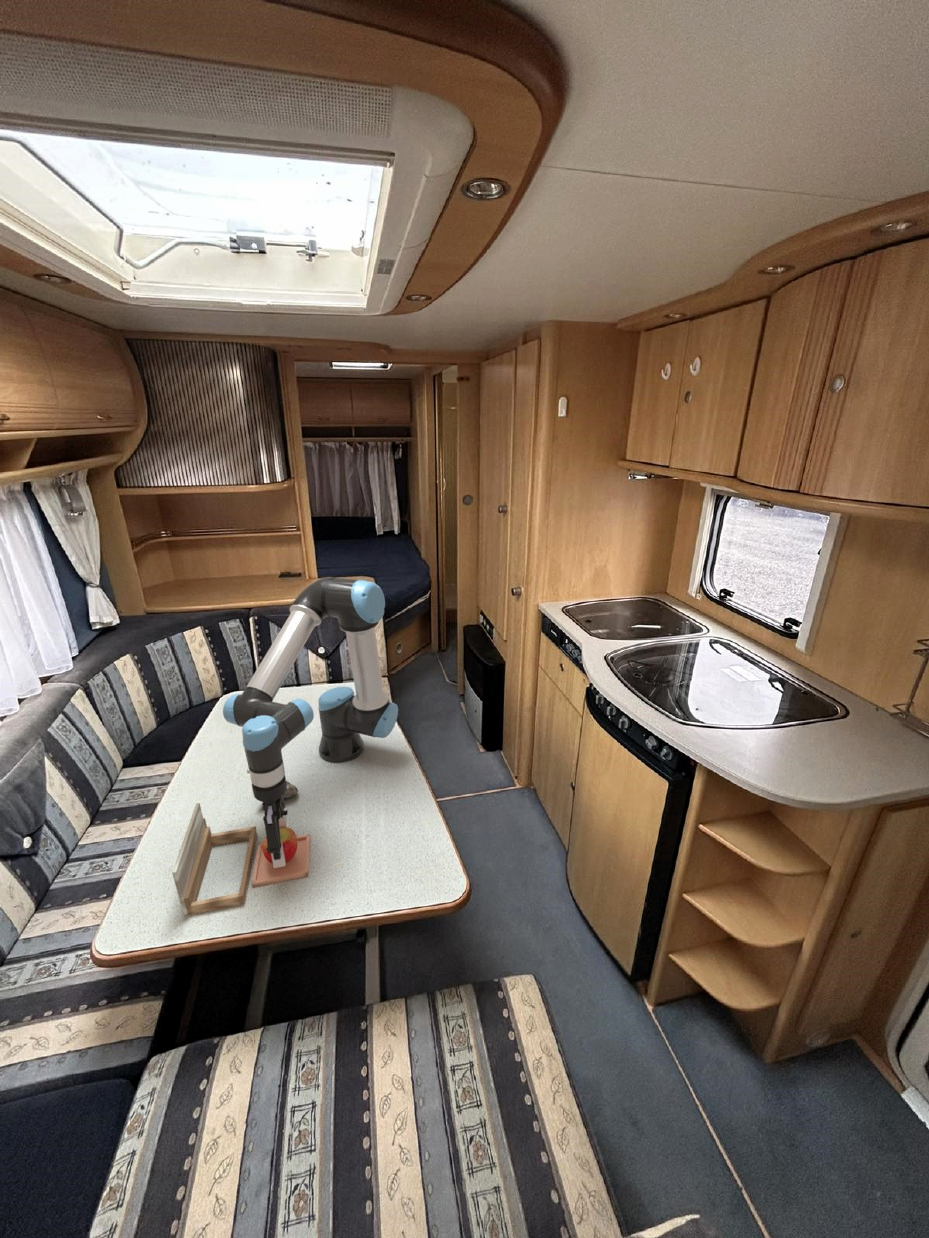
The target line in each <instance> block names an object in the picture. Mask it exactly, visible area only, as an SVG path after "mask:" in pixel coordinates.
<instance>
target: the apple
mask: <svg viewBox="0 0 929 1238" xmlns="http://www.w3.org/2000/svg"><path fill="white" fill-rule="evenodd" d="M296 836H297V834H296V832H295V831H294V830H293V829H292V828H291V827H288V826H287V827H280V839H281V843H282V845H283V851H284V857H285V862H286V863H287V862H288V861H290V860H291V859H292V858H293V856H294V855H295V853H296V850H297V837H296ZM267 847H268V845H267V838H266V837H264V840H263V845H262V849H263V854H264V856H265V858H266V859H267V860H268V861H269V862H270V863H272V864H273V861H272V856H271V853H270V854H269V853H268V851H267V850H266V848H267Z"/></svg>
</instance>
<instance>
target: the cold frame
mask: <svg viewBox="0 0 929 1238" xmlns="http://www.w3.org/2000/svg"><path fill="white" fill-rule="evenodd" d="M203 815H204V814H203V811H202V807H201V803H200V802H196V803H195V806H194V809H193V811H192V815H191V818H190V820H189V822H188V826H187V828H186V832H185V834H184V837H183V840H182V843H181V846H180V849H179V850H178V851H179V852H178V855H177V858H176V860H175V863H174V866H173V868H172V871H171V874H172V878H173V881H174V886H175V887H176V892H177V895H178V898H179V902H180V904H181V908H182V912H183V916H188V915H189V916H190V915H194V914H201V913H204V912H210V911H215V910H219V909H224V908H225V909H226V908H229V907H235V906H240V905H241V906H242V905H245V903H246V900H247V894H248V888H249V882H250V877H251V871H252V868H253V861H254V857H255V850H256V845H257V840H258V832H257V831H258V830H257V826H255V825H254V826H250V827H244V828H239V829H232V830H226V831H220V832H215V833H212V831H211V827H210V826H207V821H206V818H204V816H203ZM244 841H248V845H247V849H246V854H245V860H244V864H243V871H242V876H241V881H240V885H239V891H238V892H236V893H232V894H227V895H222V896H221V895H220V896H216V897H211V898H207V899H201V900H198V897H199V894H200V890H201V887H202V884H203V881H204V878H205V877H204V876H205V873H206V870H207V867H208V863H209V860H210V857H211V853H212V850H213V847H214V846H213V845H215V846H218V845H219V846H220V844H221V845H226V844H225V843H227V844H231V843H230V842H233V843H238V842H244ZM212 846H213V847H212Z"/></svg>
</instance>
